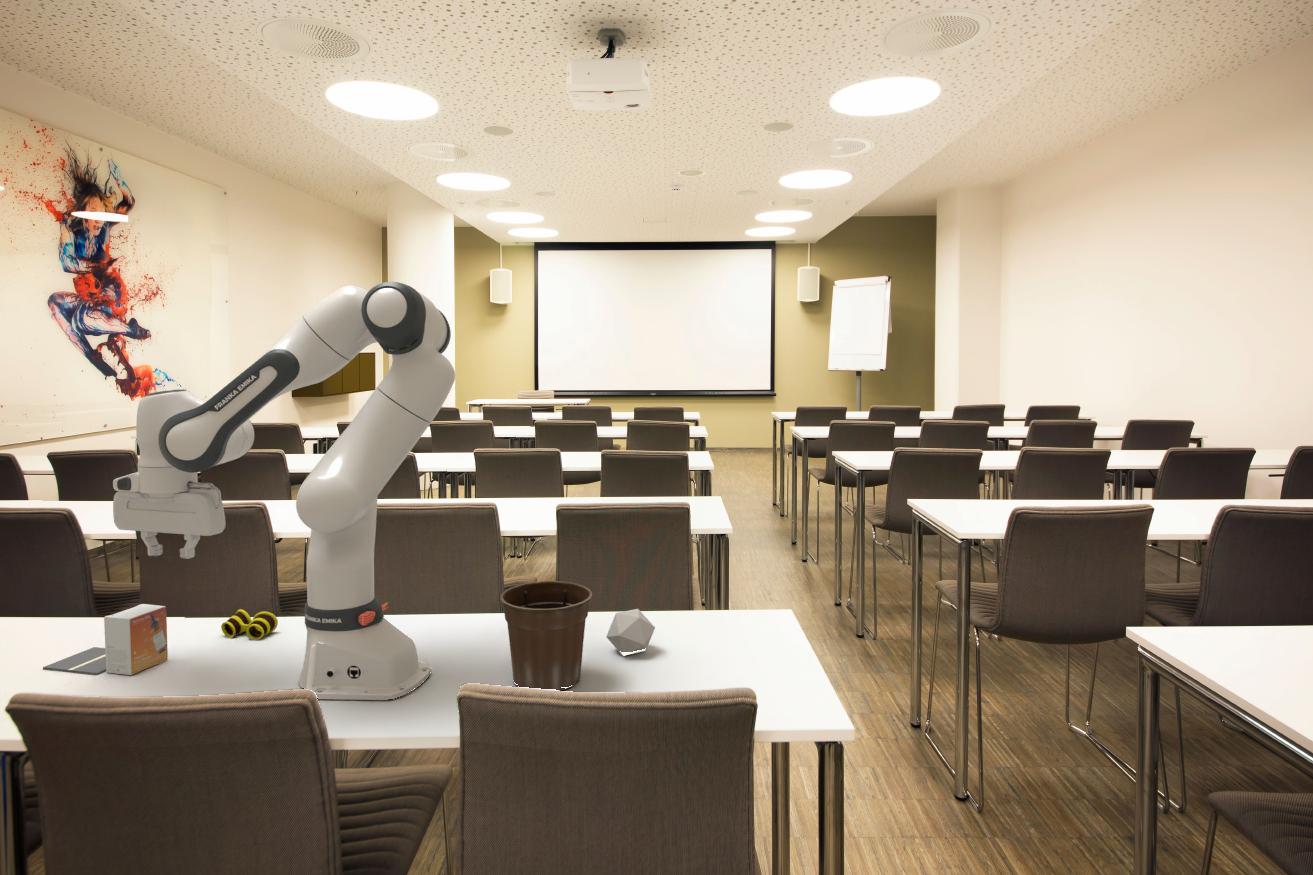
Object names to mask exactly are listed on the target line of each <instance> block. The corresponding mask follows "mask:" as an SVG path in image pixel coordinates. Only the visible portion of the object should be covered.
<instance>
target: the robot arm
mask: <svg viewBox="0 0 1313 875" xmlns="http://www.w3.org/2000/svg"><path fill="white" fill-rule="evenodd" d="M451 331H452V330H451V327H450V324H449V322H448V319H447V318H446V316H445V314H444V313H443V312H442V311H441V310H440V309H438V308H437V307H436V306H435V304H434V303H433V302H432V301H431V300H430V299H429V298H428V297H426V295H424V294H422V293H421V292H419V291H418V290H416V289H415V288H414V287H412V286H411V285H408V284H406V283H403V282H398V281H386V282H385V281H384V282H381V283H379V284H376V285H375V286H373V287H372V288H370V289H369V290H367V289H365V288H363V287H361V286H357V285H351V284H350V285H345V286H343V287H340V288H339V289H337V290H336V291H334V292H332V293H331V294H329V295H328V296H325V297H323V299H321V300H320V301H319V302H317V303H316V304H315V305H313V306H312V307H311V308H310V309H309V310H307V311H306V312H305V313H304V314H303V315H302V316H300V318H298V320H296V321H295V322H294V323H293V324H292V326H290V327H289V328H288V329H287V330H286V331H285V332H284V333H283V334H282V335H281V337H279V338H278V339H277V341H275V342H274V344H273V345H271V346H270V347H269V348H268V349H267V350H266V351H265V352H264V353H263V354H262V355H261V356H260V357H258V359H257V360H256V361H255V362H254V363H252V364H251V365H250V366H249V367H247V368H246V369H245V370H244V371H242V372H241V373H240V374H238V376H236V377H235V378H233V380H231V381H229V383H227V385H225V386H224V387H223V388H222V389H221V390H219V391H218V392H217V393H216V394H214V395H212V397H210V398H209V399H208V400H206V401H205V400H203V399H201V398H200V397H197V396H195V394H193V393H192V392H191V391H190V390H187V389H172V390H161V391H156V392H151V393H147V394H146V395H143V397H142V398H141V399H140V400H139V402H138V405H137V411H136V423H135V424H136V426H135V428H136V431H135V432H136V433H135V434H136V435H135V436H136V443H137V446H138V449H139V457H138V460H137V471H136V472H133V473H130V474H127V475H126V474H125V475H124V476H120V477H117V478H115V479H113V481H112V487H113V489H114V491H116V493H115V494H114V495H113V502H112V506H113V507H112V510H113V511H112V513H113V516H112V517H113V522H114V525H115V527H116V528H117V529H118V530H121V531H132V532H133V531H134V532H140V538H141V539H142V542H144V545H145V546H146V547H147V555H148V556H149V557H159V556H161V555H163V553H164V551H163V548H164V547H163V544H159V541H158V539H157V537H156V536H157V535H158V534H159V533H162V534H173V535H174V534H176V535H183V539H184V541H186V542H185V544H184V547H182V548H179V558H180V559H186V560H187V559H192V558H194V557H195V556H196V553H195V552H196V550H195V548H196V546H197V544H198V543H199V542H200V539H201V536H203V537H205V536H206V537H210V536H215V535H218V534H221V533H223V532H224V530H225V528H226V527H227V526H226V525H227V524H226V514H225V508H224V504H223V500H222V493H221V490H220V489H219V488H218V487H217V486H216V485H214V484H213V483H212V482H199V480H198V473H200V472H203V471H206V470H208V469H211V468H213V467H215V466H218V465H222V464H226V463H227V462H232V461H234V460H237V459H239V458H241V457H243V456H245V455H246V454H248V453H249V452H250V450H251V449H252V448H253V446H254V443H255V441H256V438H255V437H256V434H255V433H256V432H255V428H254V425H253V423H252V421H251V418H252V417H254V416H255V415H257V413H258V412H259V411H261V410H262V409H263V408H265V407H266V406H267V405H268V404H269V403H271V402H272V401H273V400H275V399H277V398H279V397H280V396H282V395H284V394H287V393H289V392H291V391H294V390H298V389H301V388H305V387H309V386H311V385H315V384H319V383H322V382H323V381H325V380H327V379H328V378H330V377H332V376H333V375H335V374H336V373H338V372H339V371H341V370H342V369H343V368H344V367H345V366H347V365H348V364H349V363H350V362H351V361H352V360H353V359H355V358H356V356H358V355H359V354H360V353H361V352H362V351H363V350H364V349H365V348H367V347H368V346H370V345H371V344H376V343H377V344H378V345H379V346H380V347H381V349H382V350H383V351H384V353H385V354H387V355H391V358H392V361H391V366H390V368H389V370H388V372H387V373H386V374H385V376H384V377H383V379H382V380H381V381H380V382H379V384H378V385H377V386H376V388H375V389H374V391H373V392H372V394H371V395H370V396H369V397H368V398H367V400H366V402H365V403H364V404H363V406H362V407H361V408H360V410H359V411H358V412H357V414H356V415H355V417H354V418H353V419H352V421H351V422H350V423H349V424H348V426H346V428H345V429H344V430H343V432H342V433H341V434H340V435H339V437H338V438H337V439H336V440H335V441H334V443H333V444H332V445H331V446H330V447H329V449H328V450H327V452H325V454H324V455H323V456H322V457H321V459H320V460H319V461H318V462H317V463H316V465H315V466H314V467H313V469H312V470H311V471H310V472H309V474H308V475H307V476H306V478H305V479H304V480H303V482H302V484H301V485H300V487H299V489H298V491H297V495H296V501H295V507H296V512H297V515H298V518H299V519H300V520H301V522H302V524H303V525H305V526H306V527H308V528H309V529H310V538H309V545H308V552H307V556H306V591H307V592H306V596H307V601H306V602H305V605H304V625H305V627H306V642H305V643H306V646H305V652H304V657H303V658H304V660H303V663H302V664H303V665H302V669H301V673H300V676H299V680H298V685H299V687H300V688H301V689H303V688H305V689H309V690H312V691H313V692H315V693H316V695H317V697H318V699H317V700H350V701H351V700H352V701H353V700H356V701H357V700H358V701H359V700H360V701H361V700H363V701H365V700H366V701H367V700H370V701H389V700H388V699H393V700H396V699H398V698H397V697H399V698H401V697H400V696H402V695H404V696H406V695H407V694H406V693H408V692H410V691H411V690H413V689H414V688H416V687H418V686H419V685H420V684H421V683H422V682H423V681H425V680H426V679H427V677H428V676H429V675H430V676H431V674H430V672H431V673H432V668H431V665H430V663H426V662H421V661H419V656H418V651H417V647H416V644H415V642H414V640H413V639H412V638H411V637H410V636H408V635H406V634H405V633H404V632H403V631H401V630H400V629H399V628H398V627H396V626H395V625H393V624H392V623H391V621H388V620H387V619H386V618H385V614H384V611H385V610H387V609H388V608H389V606H388V605H389V602H388V601H387V602H384V603H383V604H381V603H379V601H378V598H377V596H375V546H376V545H375V544H376V532H377V530H376V529H377V515H378V514H377V513H378V496H379V494H380V493H381V492H382V490H383V489H384V487H385V486H386V485H387V483H388V482H389V481H390V479H391V478H392V476H394V474H395V472H396V471H397V470H398V469H399V467H400V466H401V465H402V463H403V462H404V460H406V458H407V456H408V455H409V454H410V452H411V451H412V450H413V448H414V447H415V446H416V445H417V443H418V441H419V440H420V438H421V437H422V436H423V434H424V433H425V432H426V430H427V429H428V428H429V426H430V425H431V424H432V422H433V421H434V419H435V417H436V416H437V415H438V413H439V411H441V408H442V407H443V405H444V404H445V402H446V401H447V398H448V396H449V393H450V391H452V388H453V385H454V382H455V381H456V371H455V369H454V367H453V365H452V363H451V362H450V360H449V359H448V358H447V357H446V356H445V355H444V354H443V353H444V352H445V351H446V350H447V348H448V346H449V345H450V341H451V335H452V334H451ZM430 676H429V677H430ZM427 680H428V679H427ZM427 680H426V681H427ZM426 681H425V682H426ZM420 686H421V685H420ZM420 686H419V687H420ZM419 687H418V688H419ZM416 689H417V688H416ZM413 691H414V690H413ZM410 693H411V692H410ZM405 694H406V695H405ZM408 694H409V693H408ZM402 697H403V696H402ZM395 698H396V699H395Z"/></svg>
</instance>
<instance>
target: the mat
mask: <svg viewBox="0 0 1313 875" xmlns="http://www.w3.org/2000/svg"><path fill="white" fill-rule="evenodd" d="M42 670H45V671H46V670H48V671H55V672H56V671H57V672H63V673H75V674H83V675H92V676H98V675H100V674H103V673H105V672H106V653H105V647H97V646H94V647H91V648H88V649H85V650H84V651H79V652H78V653H76V654H73V655H70V656H68V657H66V658H65V657H64V658H62V659H60V660H57V661H55V662H53V663H50V664H47V665H45V666H43V667H42Z"/></svg>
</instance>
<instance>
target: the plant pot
mask: <svg viewBox="0 0 1313 875" xmlns="http://www.w3.org/2000/svg"><path fill="white" fill-rule="evenodd" d="M592 598H593V592H592V591H591V589H590V588H588V587H586V586H585V585H583V584H579V583H574V582H569V581H560V580H545V581H535V582H534V581H532V582H526V583H521V584H517V585H515V586H512V587H509V588H508V589H506V590H504V591H503V592H502V593H501V594H500V602H501V603H502V605H503V612H504V614H503V615H504V619H505V621H506V623H507V624H506V625H507V633H508V640H509V641H508V642H509V647H510V648H509V650H510V661H511V670H512V671H511V672H512V681H513V680H514V681H513V683H514V682H515V683H516V684H518V685H515V686H516V687H517V686H519V687H529V688H541V689H556V690H563V691H565V690H567V689H565V688H561V687H569V686H571V685H574V684H575V685H576V683H577V682H579V681H580V680H581V677H580V676H582V673H581V672H582V661H583V651H584V649H583V648H584V641H585V640H584V638H585V629H586V628H585V627H586V621H587V620H586V619H587V618H588V615H589V607H590V601H591V600H592ZM579 679H580V680H579ZM578 680H579V681H578ZM575 685H574V686H575Z"/></svg>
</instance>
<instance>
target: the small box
mask: <svg viewBox="0 0 1313 875" xmlns="http://www.w3.org/2000/svg"><path fill="white" fill-rule="evenodd" d="M167 619H168V618H167V606H165V605H156V604H148V603H140V604H138V605H136V606H134V607H131V608H127V609H125V610H122V611H119V612H116V613H113V614H110V615H105V616H104V617H103V623H104V624H103V625H104V627H103V628H104V645H105V646H104V648H105V653H106V671H105V672H106V673H107V674H116V675H117V674H118V675H126V676H133V675H134V674H137V673H139V672H141V671H144V670H146V669H149V668H151V667H153V666H155V665H158V664H161V663H164V662H166V661H168V658H169V655H168V654H169V653H168V652H169V650H168V624H167V621H168V620H167Z"/></svg>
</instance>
